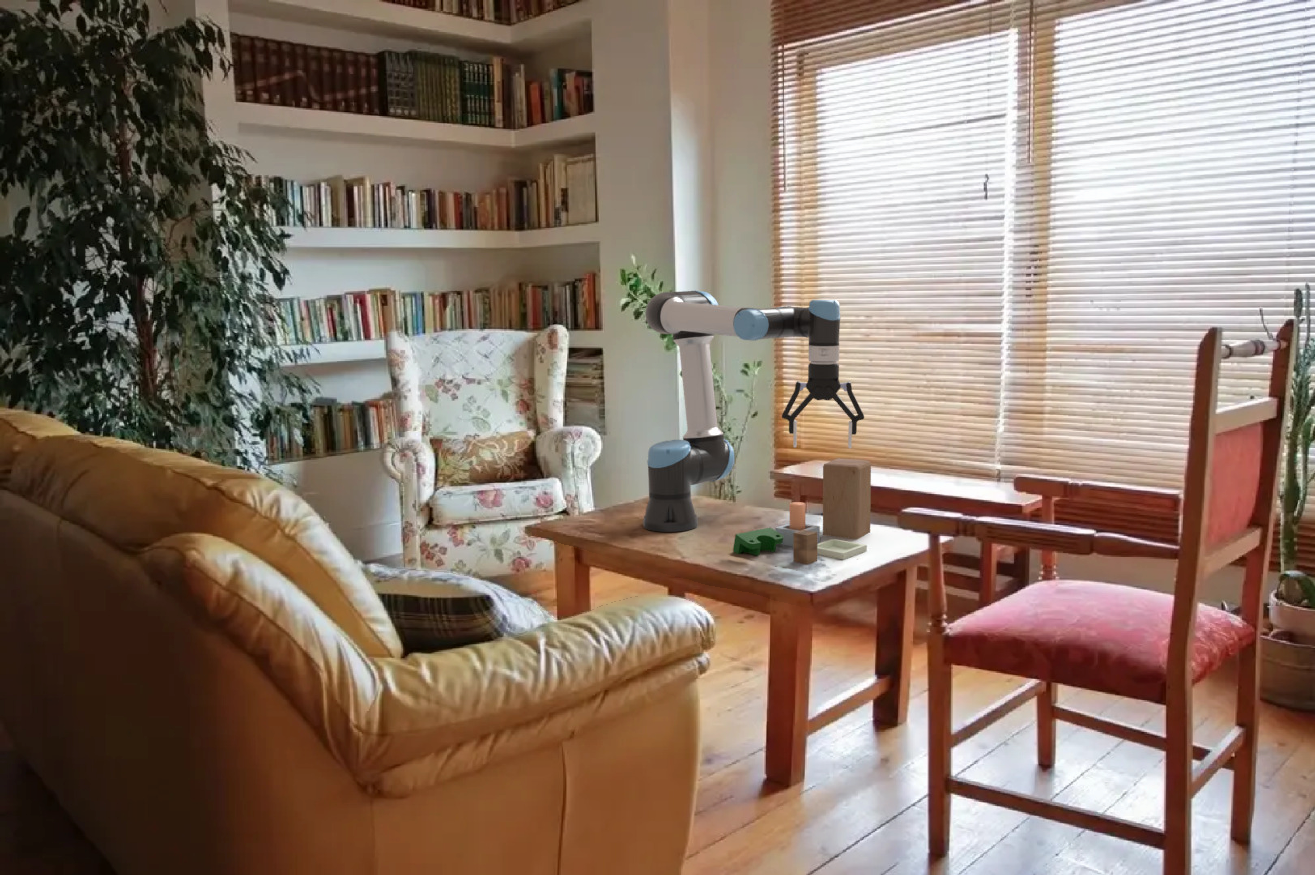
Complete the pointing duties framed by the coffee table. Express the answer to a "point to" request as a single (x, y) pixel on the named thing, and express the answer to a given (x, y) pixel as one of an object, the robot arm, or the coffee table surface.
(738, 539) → the clamp
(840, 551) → the tray
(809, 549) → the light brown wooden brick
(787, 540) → the socket
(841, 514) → the wooden block
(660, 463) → the robot arm
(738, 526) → the coffee table surface
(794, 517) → the peach rounded rod
